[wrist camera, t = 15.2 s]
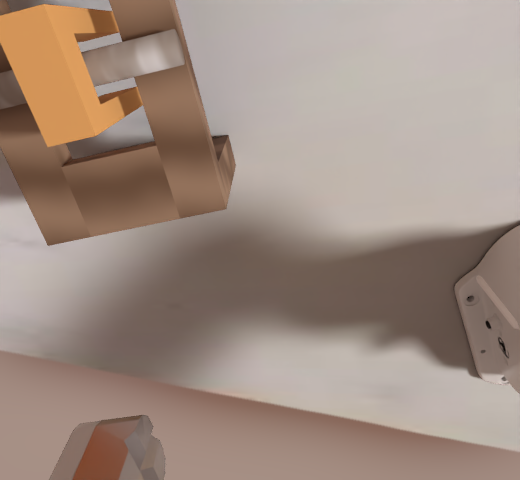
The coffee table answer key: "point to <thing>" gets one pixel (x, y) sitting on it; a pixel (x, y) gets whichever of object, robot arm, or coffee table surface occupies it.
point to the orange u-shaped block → (62, 70)
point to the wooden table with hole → (131, 158)
